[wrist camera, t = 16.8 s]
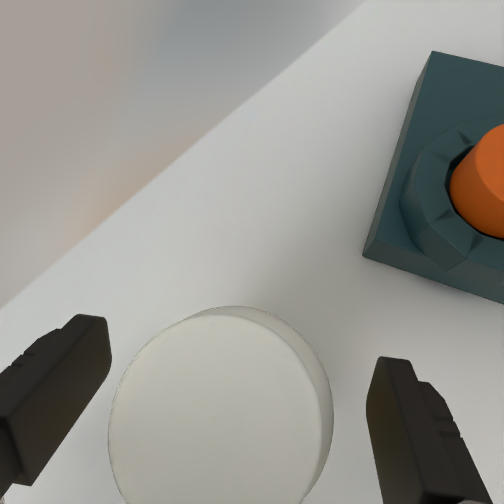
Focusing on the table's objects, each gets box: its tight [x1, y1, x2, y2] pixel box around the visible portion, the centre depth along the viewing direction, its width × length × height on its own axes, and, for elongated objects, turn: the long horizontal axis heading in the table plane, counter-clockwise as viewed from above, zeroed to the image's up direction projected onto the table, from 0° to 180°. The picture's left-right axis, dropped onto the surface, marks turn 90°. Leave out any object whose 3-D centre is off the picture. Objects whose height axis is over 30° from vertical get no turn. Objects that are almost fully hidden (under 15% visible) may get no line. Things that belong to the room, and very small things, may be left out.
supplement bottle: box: [108, 306, 334, 504], centre depth 11 cm, size 5×5×10 cm
